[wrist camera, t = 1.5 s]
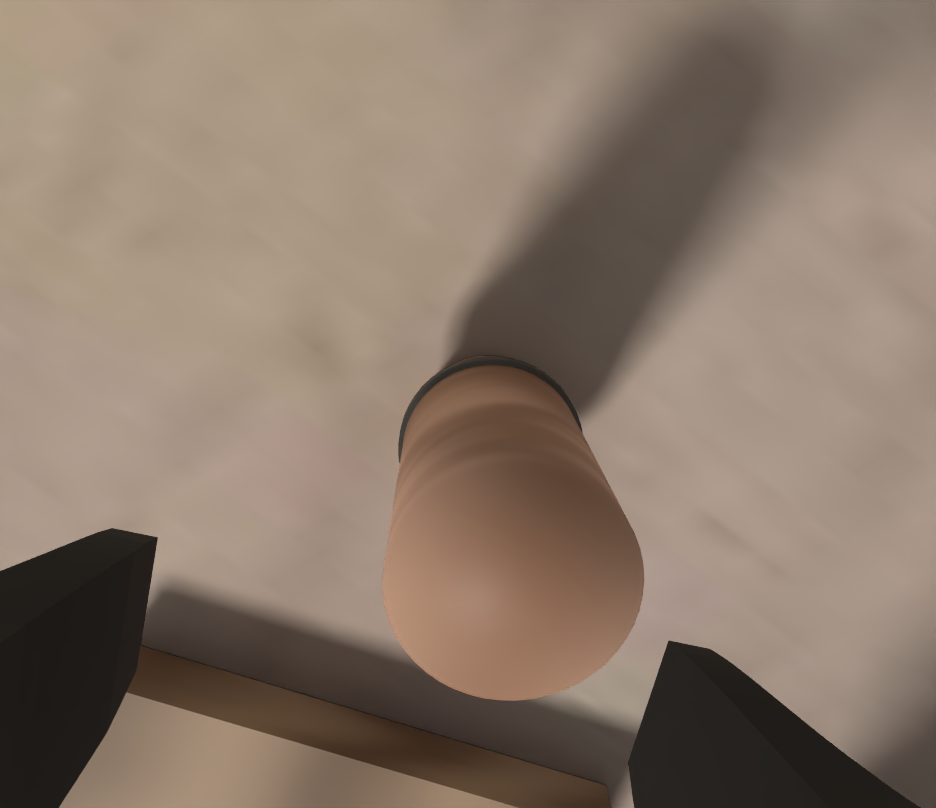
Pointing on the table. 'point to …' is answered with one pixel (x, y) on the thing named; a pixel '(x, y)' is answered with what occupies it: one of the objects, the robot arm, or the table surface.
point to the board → (292, 753)
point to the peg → (506, 537)
